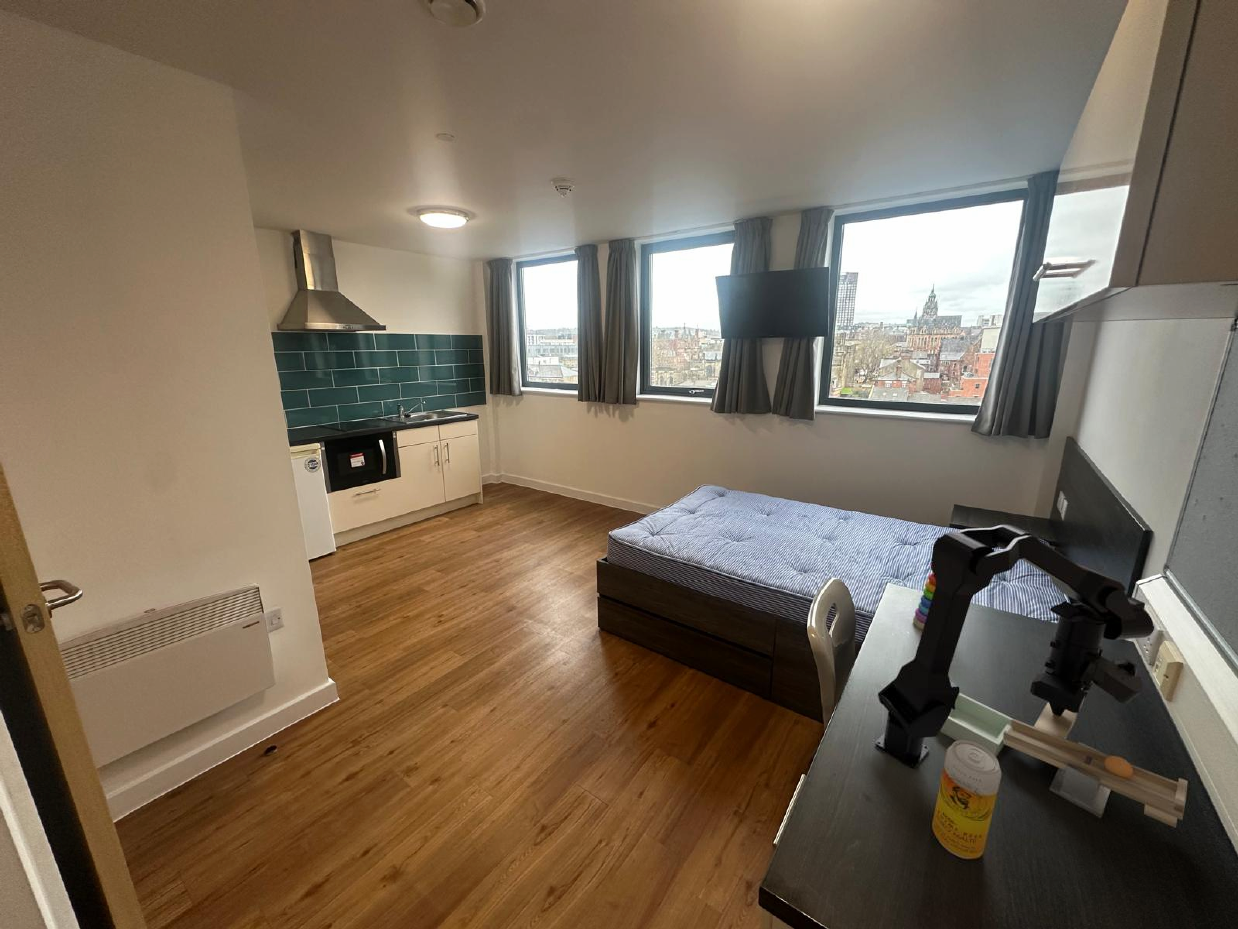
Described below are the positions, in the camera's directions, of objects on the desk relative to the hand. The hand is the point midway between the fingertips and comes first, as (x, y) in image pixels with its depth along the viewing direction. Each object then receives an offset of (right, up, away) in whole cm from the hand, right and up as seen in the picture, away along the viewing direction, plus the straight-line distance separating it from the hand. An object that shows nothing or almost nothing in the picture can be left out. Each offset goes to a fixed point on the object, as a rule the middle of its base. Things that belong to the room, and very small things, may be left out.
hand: (1057, 714), depth 87 cm
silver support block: (-5, -7, -10) cm, 13 cm away
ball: (-3, -1, -14) cm, 14 cm away
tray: (-14, -4, +2) cm, 15 cm away
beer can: (-31, -9, -18) cm, 36 cm away
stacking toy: (-1, +4, +34) cm, 34 cm away
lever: (-1, -4, -7) cm, 8 cm away
